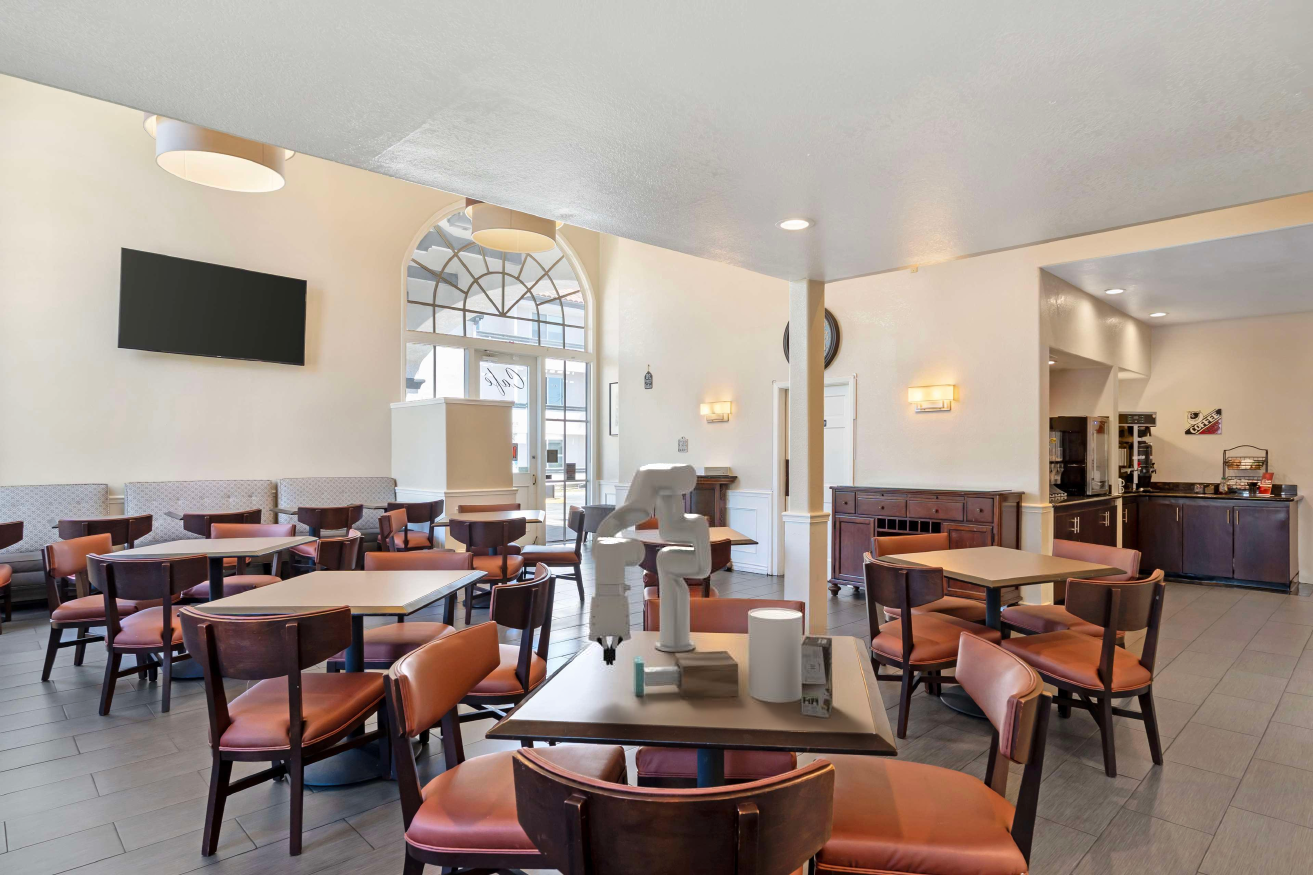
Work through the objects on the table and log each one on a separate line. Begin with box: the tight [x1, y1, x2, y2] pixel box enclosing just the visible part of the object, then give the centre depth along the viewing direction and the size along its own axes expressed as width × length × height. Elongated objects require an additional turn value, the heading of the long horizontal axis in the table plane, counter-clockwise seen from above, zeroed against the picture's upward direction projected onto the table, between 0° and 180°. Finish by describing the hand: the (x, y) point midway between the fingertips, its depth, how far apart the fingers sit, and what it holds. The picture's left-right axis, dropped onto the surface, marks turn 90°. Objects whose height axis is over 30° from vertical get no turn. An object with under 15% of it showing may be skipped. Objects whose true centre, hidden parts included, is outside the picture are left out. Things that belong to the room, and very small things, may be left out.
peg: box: [633, 656, 680, 697], centre depth 175 cm, size 5×14×8 cm, turn 98°
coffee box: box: [801, 635, 834, 719], centre depth 162 cm, size 9×6×16 cm
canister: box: [747, 607, 804, 703], centre depth 174 cm, size 14×14×20 cm
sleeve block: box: [674, 650, 739, 700], centre depth 176 cm, size 12×14×8 cm
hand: (609, 663), depth 172 cm, fingers closed
